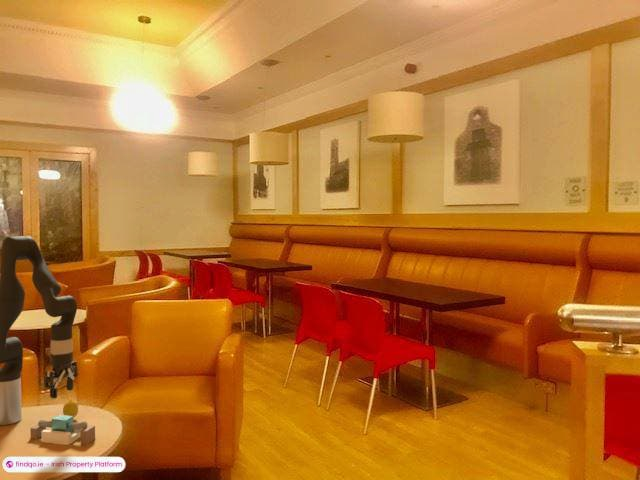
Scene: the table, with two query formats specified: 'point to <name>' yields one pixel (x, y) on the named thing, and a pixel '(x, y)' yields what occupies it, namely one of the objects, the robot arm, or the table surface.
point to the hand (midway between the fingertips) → (61, 393)
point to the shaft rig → (63, 433)
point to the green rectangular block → (62, 423)
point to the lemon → (70, 408)
